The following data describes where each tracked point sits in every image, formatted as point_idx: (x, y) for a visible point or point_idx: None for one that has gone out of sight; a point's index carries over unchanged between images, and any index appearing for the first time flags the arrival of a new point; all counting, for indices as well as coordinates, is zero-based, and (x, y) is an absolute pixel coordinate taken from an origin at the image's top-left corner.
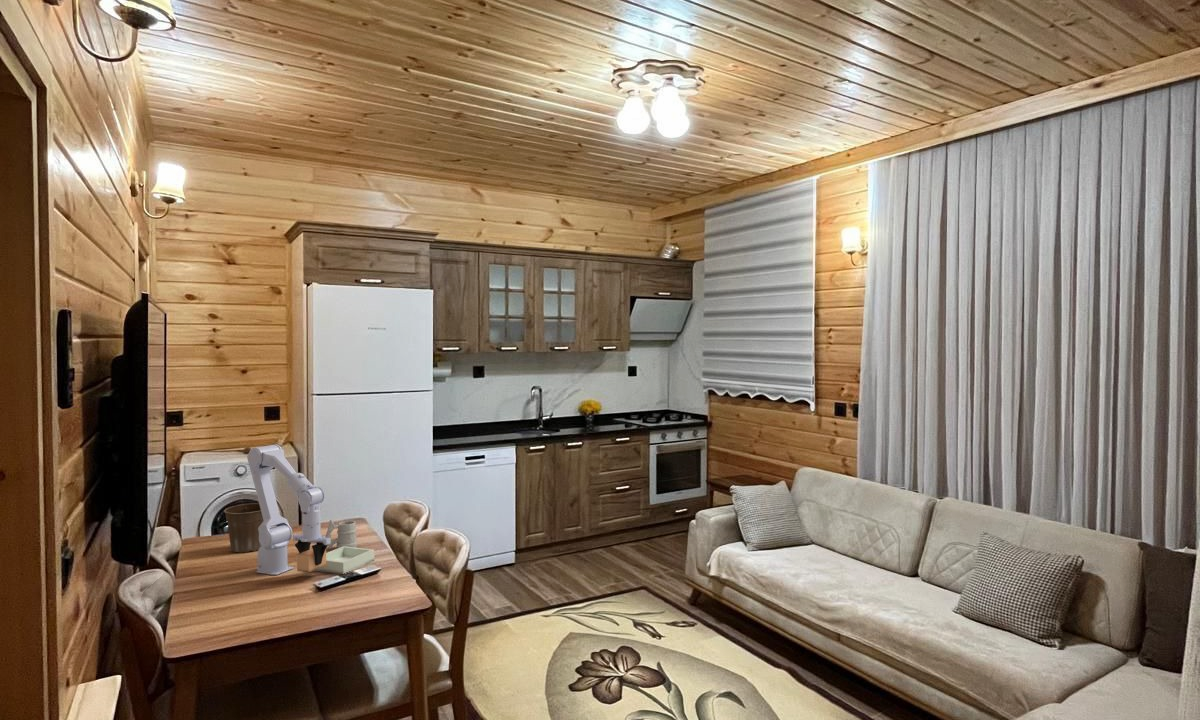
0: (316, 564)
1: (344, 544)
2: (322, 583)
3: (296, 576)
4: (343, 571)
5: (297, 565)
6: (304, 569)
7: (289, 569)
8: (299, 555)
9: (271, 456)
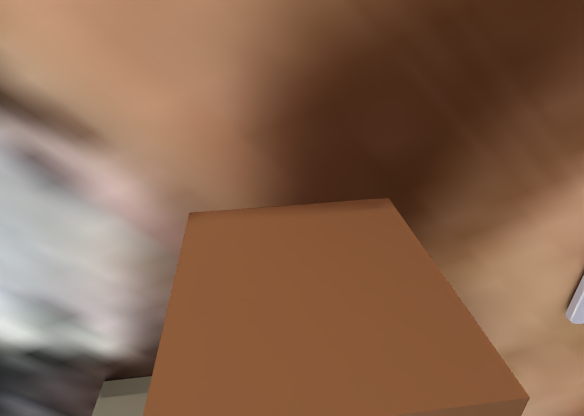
0: None
1: None
2: (28, 183)
3: (435, 218)
4: (97, 402)
5: (408, 237)
6: (268, 223)
7: (579, 288)
8: (439, 388)
9: None
